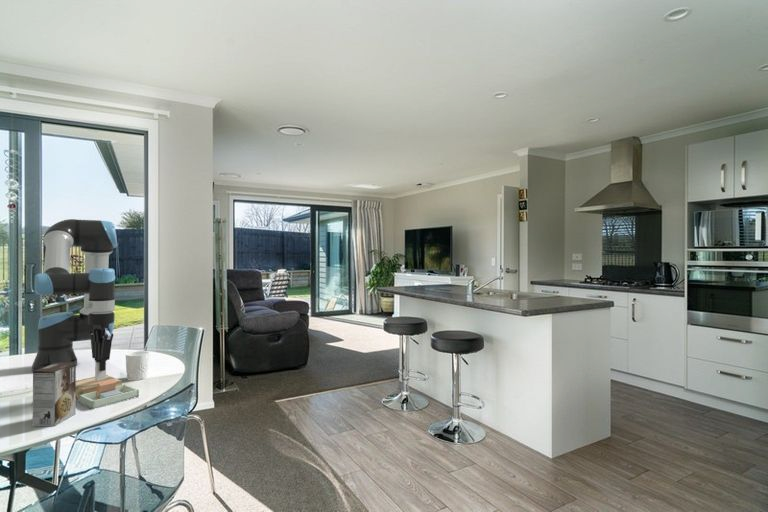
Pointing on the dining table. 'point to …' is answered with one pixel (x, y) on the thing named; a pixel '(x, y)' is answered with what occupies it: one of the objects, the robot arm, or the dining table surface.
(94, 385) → the tan square panel
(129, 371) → the white cup
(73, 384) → the cookie box
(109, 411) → the dining table surface
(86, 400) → the tray
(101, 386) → the tile
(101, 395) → the tile
